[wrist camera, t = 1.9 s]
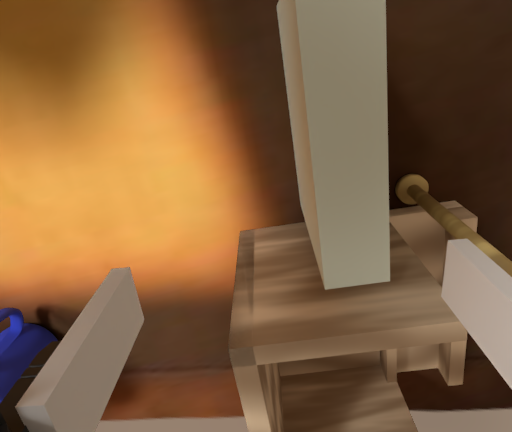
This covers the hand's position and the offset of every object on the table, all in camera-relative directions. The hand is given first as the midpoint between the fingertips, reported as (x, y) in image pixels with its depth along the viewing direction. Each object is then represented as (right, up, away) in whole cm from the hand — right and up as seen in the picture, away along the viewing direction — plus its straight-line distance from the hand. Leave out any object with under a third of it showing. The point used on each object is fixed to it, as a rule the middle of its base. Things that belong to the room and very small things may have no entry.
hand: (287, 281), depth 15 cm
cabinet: (+9, -5, +24) cm, 26 cm away
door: (+4, +12, +17) cm, 21 cm away
